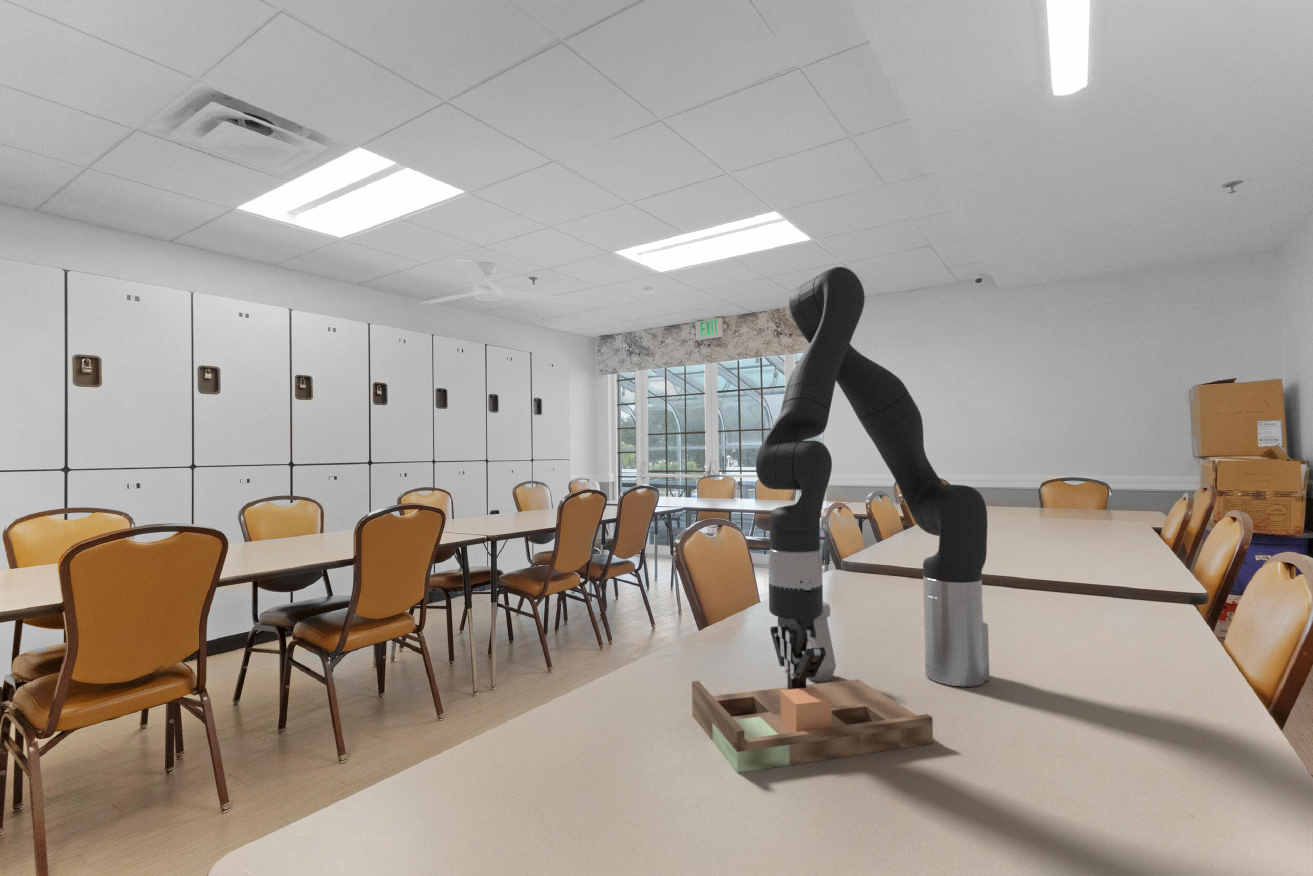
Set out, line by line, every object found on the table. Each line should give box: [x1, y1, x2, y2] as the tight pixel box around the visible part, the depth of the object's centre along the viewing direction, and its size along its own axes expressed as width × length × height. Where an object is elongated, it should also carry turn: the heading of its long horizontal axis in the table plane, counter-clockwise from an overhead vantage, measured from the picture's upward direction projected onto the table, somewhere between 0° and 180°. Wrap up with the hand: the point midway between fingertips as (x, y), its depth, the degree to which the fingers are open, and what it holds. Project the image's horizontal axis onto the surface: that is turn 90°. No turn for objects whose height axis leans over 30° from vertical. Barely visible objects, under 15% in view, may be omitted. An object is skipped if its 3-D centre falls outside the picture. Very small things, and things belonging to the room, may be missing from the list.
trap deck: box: [691, 678, 934, 773], centre depth 90 cm, size 28×18×5 cm, turn 105°
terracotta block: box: [780, 687, 832, 732], centre depth 86 cm, size 5×5×4 cm
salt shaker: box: [808, 601, 837, 682], centre depth 111 cm, size 6×6×13 cm
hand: (797, 702), depth 91 cm, fingers closed
